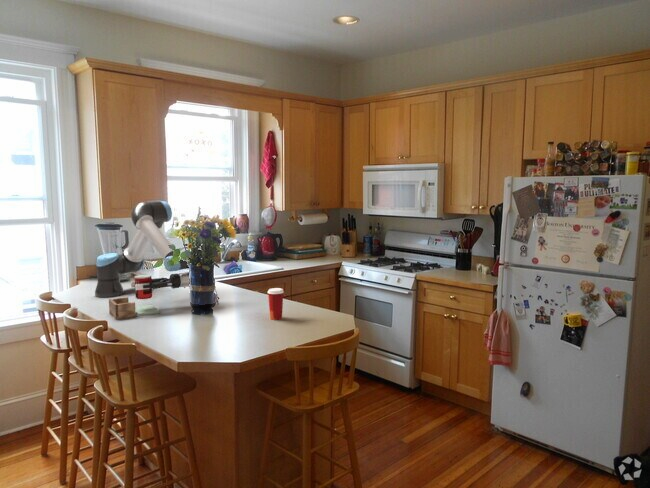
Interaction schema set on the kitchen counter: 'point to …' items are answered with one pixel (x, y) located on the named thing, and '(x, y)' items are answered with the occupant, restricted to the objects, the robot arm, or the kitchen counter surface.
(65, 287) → the kitchen counter surface
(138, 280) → the canned food
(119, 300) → the crate
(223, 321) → the kitchen counter surface
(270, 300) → the paper cup
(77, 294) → the kitchen counter surface
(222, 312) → the kitchen counter surface
